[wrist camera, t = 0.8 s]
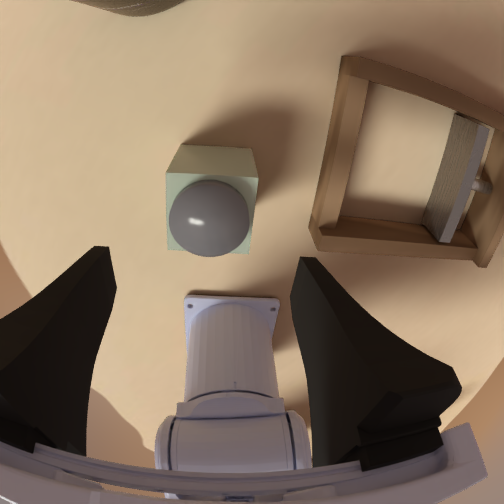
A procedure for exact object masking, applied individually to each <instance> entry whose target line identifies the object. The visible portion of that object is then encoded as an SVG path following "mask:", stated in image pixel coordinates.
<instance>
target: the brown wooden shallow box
mask: <svg viewBox="0 0 504 504" xmlns="http://www.w3.org/2000/svg"><path fill="white" fill-rule="evenodd" d="M369 81H371V82H375V83H378V84H382V85H385V86H388V87H392V88H395V89H398V90H401V91H404V92H407V93H410V94H413V95H416V96H419V97H422V98H425V99H428V100H430V101H433V102H436V103H438V104H441V105H443V106H446V107H448V108H451V109H453V110H456V111H458V112H461V113H463V114H465V115H467V116H470V117H472V118H474V119H476V120H479V121H481V122H483V123H485V124H487V125H489V126H491V127H493V128H495V131H494V135H493V138H492V142H491V146H490V149H489V152H488V156H487V159H486V162H485V166H484V169H483V172H482V175H481V178H480V180H483V181H486V182H489V183H491V184H492V192H491V193H490V194H485V193H482V192H478V191H476V192H475V195H474V197H473V200H472V203H471V205H470V208H469V210H468V213H467V215H466V218H465V220H464V223H463V225H462V228H461V230H455V232H454V234H453V237H452V239H451V241H450V243H447V242H439V241H438V240H437V239H436V238H435V236H434V235H433V234H432V233H431V232H430V231H429V230H428V229H427V228H426V226H425V225H417V224H409V223H401V222H393V221H384V220H375V219H366V218H356V217H346V216H339V213H340V209H341V205H342V201H343V197H344V193H345V189H346V185H347V181H348V177H349V173H350V169H351V165H352V160H353V156H354V152H355V147H356V143H357V138H358V134H359V129H360V124H361V120H362V115H363V110H364V105H365V100H366V94H367V89H368V84H369ZM308 228H309V231H310V233H311V235H312V238H313V240H314V243H315V245H316V248H317V250H318V251H325V252H342V253H359V254H376V255H393V256H409V257H426V258H442V259H458V260H473V262H474V263H475V264H476V265H477V266H478V267H481V268H487V266H488V264H489V262H490V260H491V258H492V256H493V254H494V252H495V250H496V248H497V246H498V244H499V242H500V239H501V237H502V235H503V233H504V115H502V114H500V113H498V112H497V111H495V110H493V109H491V108H489V107H487V106H485V105H483V104H482V103H480V102H478V101H476V100H474V99H472V98H469V97H467V96H465V95H463V94H461V93H459V92H457V91H454V90H452V89H450V88H448V87H445V86H443V85H441V84H438V83H436V82H433V81H431V80H428V79H426V78H423V77H421V76H418V75H415V74H413V73H410V72H407V71H404V70H401V69H398V68H396V67H392V66H389V65H386V64H383V63H380V62H377V61H373V60H370V59H366V58H363V57H353V56H342V57H341V63H340V70H339V76H338V82H337V88H336V93H335V99H334V105H333V110H332V116H331V121H330V126H329V132H328V137H327V142H326V147H325V152H324V157H323V162H322V167H321V172H320V177H319V181H318V186H317V191H316V195H315V200H314V205H313V209H312V214H311V218H310V222H309V227H308Z"/></svg>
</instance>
